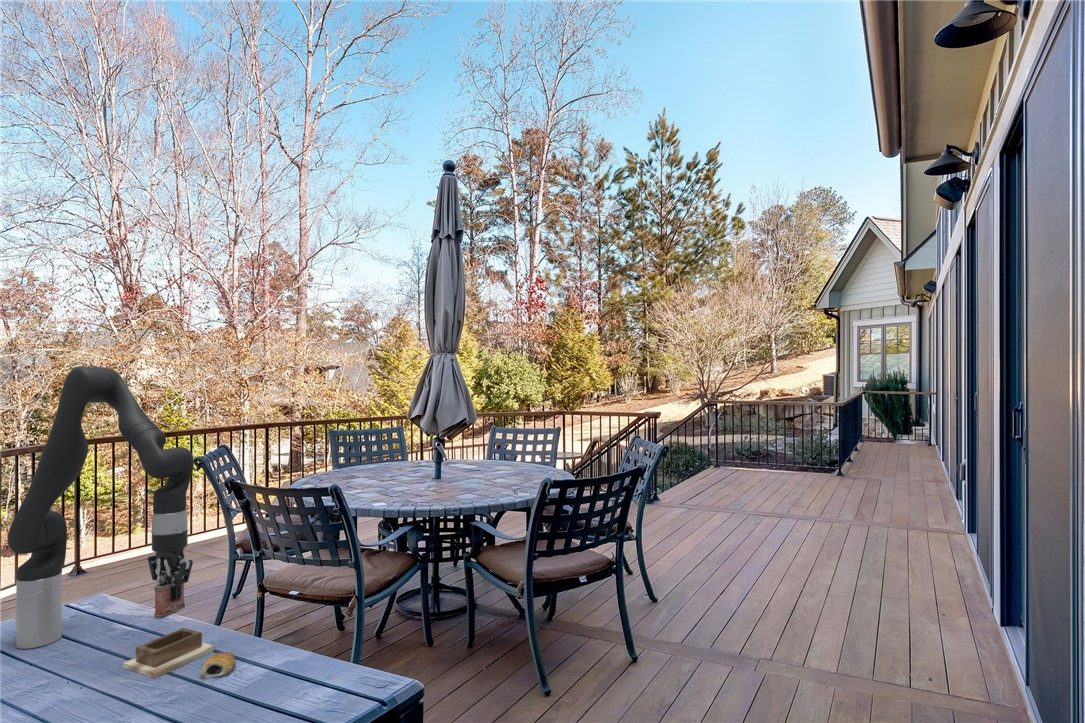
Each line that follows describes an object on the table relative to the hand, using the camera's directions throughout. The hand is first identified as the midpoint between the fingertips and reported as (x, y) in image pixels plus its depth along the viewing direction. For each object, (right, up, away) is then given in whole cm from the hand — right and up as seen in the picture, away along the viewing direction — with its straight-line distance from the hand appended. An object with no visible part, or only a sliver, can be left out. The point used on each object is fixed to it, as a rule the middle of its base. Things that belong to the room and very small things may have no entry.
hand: (170, 599), depth 149 cm
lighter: (0, -3, 0) cm, 3 cm away
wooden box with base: (0, -15, 0) cm, 15 cm away
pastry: (+15, -15, -6) cm, 22 cm away
